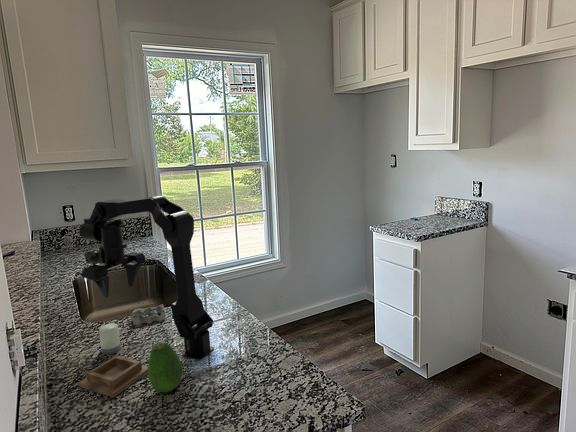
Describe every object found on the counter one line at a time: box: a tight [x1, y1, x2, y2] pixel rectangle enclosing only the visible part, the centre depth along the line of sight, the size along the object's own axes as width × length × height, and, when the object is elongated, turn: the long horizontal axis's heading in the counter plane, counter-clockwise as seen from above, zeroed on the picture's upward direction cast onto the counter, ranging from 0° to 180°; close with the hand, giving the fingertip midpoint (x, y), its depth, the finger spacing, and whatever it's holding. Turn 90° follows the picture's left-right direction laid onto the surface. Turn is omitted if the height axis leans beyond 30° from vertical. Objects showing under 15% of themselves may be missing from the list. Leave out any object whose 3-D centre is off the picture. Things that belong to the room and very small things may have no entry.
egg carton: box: [131, 303, 166, 327], centre depth 134 cm, size 11×8×4 cm
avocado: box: [147, 342, 184, 393], centre depth 93 cm, size 8×8×12 cm
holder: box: [77, 354, 149, 398], centre depth 99 cm, size 12×12×3 cm
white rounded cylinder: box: [98, 323, 122, 356], centre depth 113 cm, size 5×5×7 cm
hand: (118, 291), depth 120 cm, fingers open, 9 cm apart
